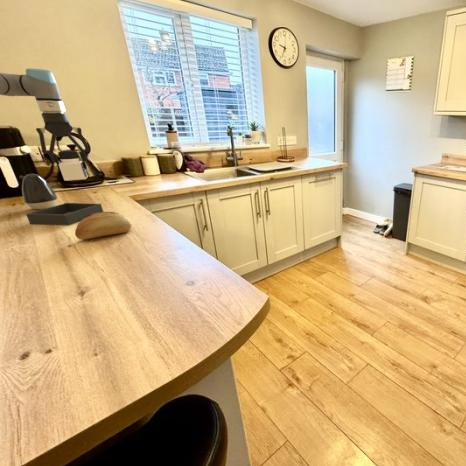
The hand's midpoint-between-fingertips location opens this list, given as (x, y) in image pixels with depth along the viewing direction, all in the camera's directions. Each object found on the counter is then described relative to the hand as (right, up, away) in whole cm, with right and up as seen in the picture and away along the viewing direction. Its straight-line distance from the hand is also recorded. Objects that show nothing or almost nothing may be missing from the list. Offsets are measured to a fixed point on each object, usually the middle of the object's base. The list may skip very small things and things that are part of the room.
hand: (73, 169), depth 125 cm
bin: (+7, -22, -9) cm, 24 cm away
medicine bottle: (0, -4, +2) cm, 4 cm away
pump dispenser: (-16, -17, +4) cm, 24 cm away
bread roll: (+36, -29, -25) cm, 52 cm away
